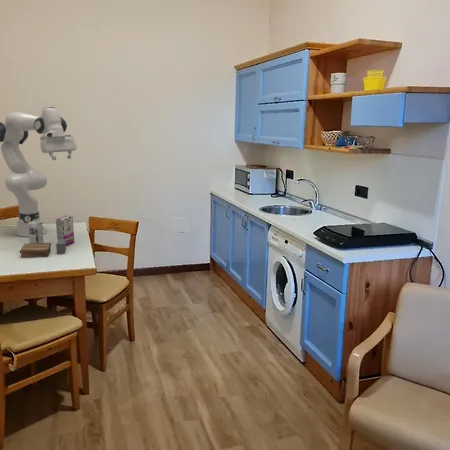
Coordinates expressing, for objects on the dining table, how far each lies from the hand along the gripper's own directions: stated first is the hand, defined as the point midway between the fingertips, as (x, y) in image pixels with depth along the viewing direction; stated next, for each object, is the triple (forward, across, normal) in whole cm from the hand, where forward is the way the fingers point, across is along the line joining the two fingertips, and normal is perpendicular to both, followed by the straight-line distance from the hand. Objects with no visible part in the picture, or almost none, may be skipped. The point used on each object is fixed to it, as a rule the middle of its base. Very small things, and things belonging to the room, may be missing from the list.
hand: (62, 159), depth 267 cm
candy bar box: (+47, +1, -17) cm, 50 cm away
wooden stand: (+48, +22, -12) cm, 54 cm away
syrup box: (+44, +14, -25) cm, 53 cm away
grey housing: (+51, +10, -6) cm, 52 cm away
